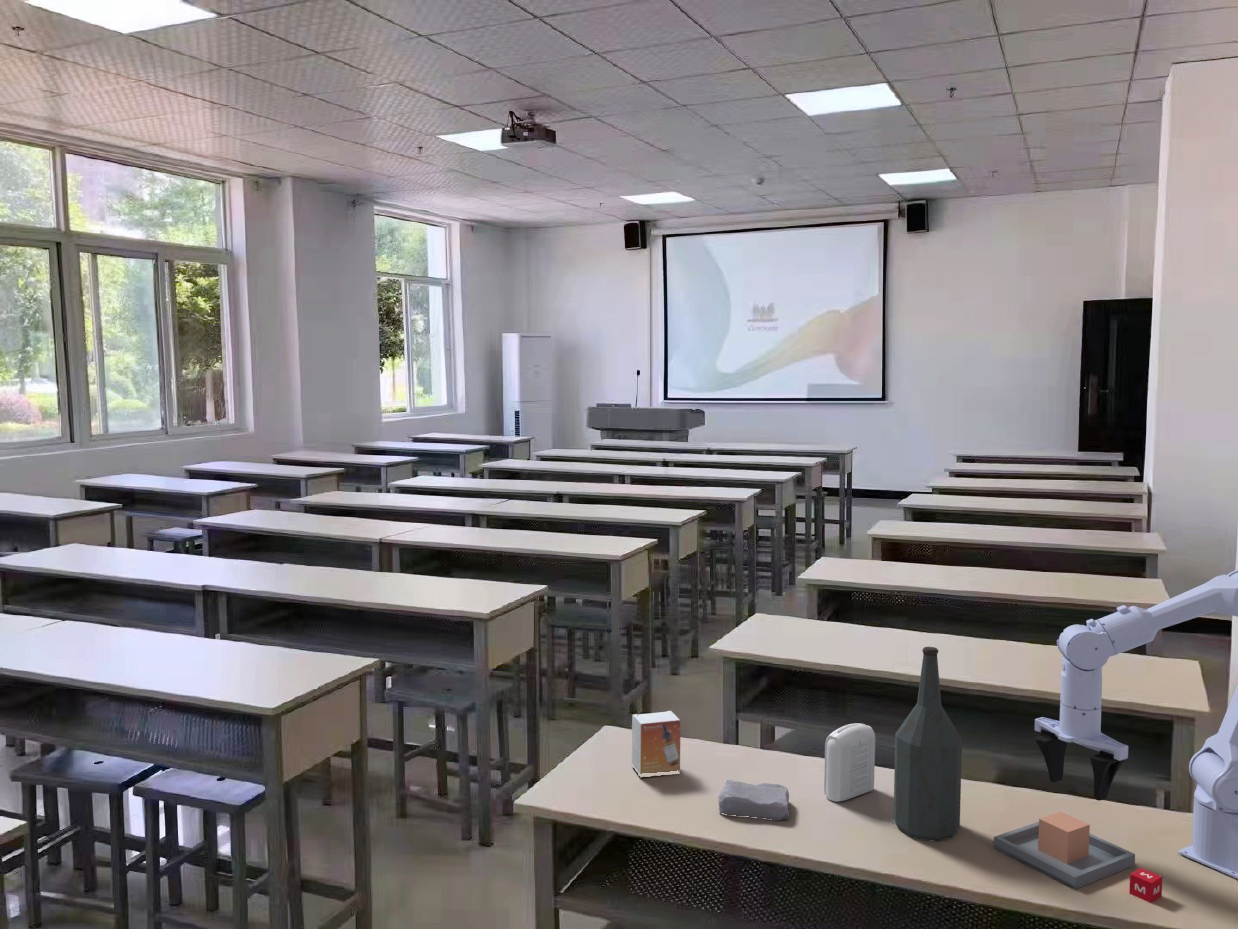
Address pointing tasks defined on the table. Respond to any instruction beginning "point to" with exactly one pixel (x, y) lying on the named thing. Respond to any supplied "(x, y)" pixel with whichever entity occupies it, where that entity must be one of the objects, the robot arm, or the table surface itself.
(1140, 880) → the red letter cube
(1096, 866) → the tray
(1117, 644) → the robot arm
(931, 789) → the bottle
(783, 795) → the stone block
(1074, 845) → the wooden cube
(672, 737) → the small box
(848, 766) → the photo printer
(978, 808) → the table surface
